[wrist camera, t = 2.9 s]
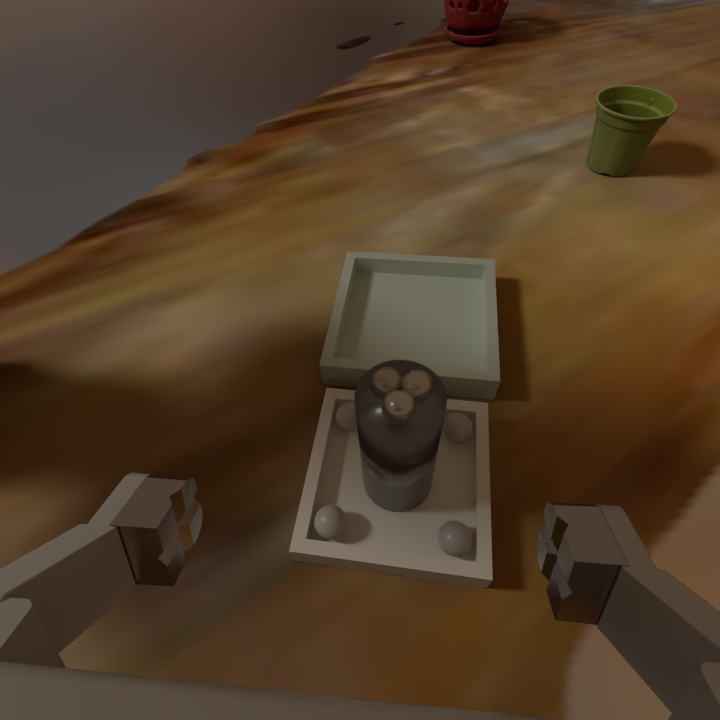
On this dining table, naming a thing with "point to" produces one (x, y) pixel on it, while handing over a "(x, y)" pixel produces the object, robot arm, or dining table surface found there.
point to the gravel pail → (399, 432)
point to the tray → (399, 529)
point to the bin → (416, 320)
